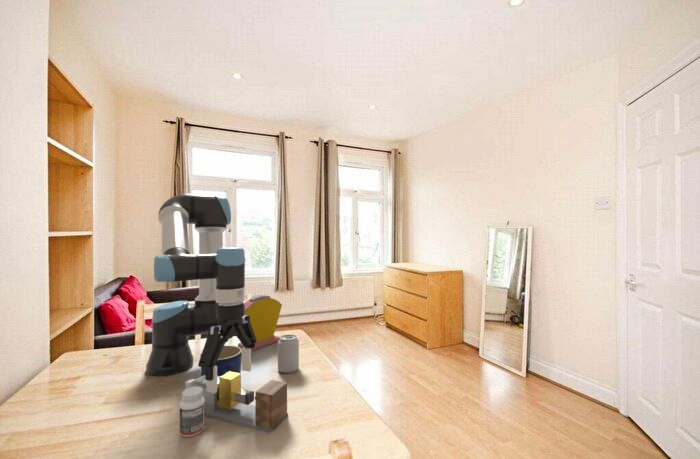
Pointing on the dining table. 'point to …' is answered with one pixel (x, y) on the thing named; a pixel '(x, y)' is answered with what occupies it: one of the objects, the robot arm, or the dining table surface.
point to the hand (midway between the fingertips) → (230, 380)
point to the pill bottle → (192, 412)
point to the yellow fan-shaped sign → (263, 319)
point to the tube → (230, 391)
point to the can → (288, 353)
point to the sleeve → (208, 394)
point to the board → (239, 416)
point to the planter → (227, 361)
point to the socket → (271, 404)
